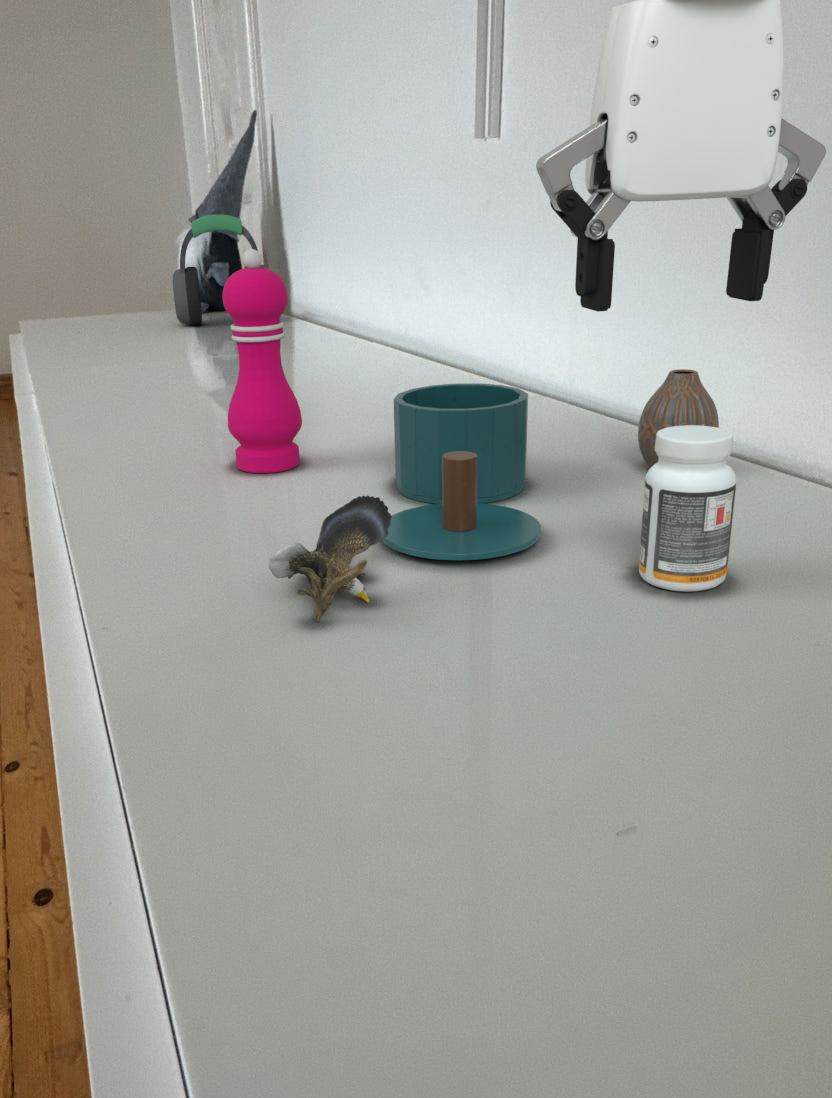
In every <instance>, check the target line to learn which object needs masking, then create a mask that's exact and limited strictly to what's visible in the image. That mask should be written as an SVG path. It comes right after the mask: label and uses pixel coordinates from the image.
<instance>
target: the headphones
mask: <svg viewBox="0 0 832 1098" xmlns="http://www.w3.org/2000/svg"><path fill="white" fill-rule="evenodd" d="M190 227H191V228H190V229H189V230H188V231H187V233H186V234H185V237H184V238H183V241H182V244H181V247H180V254H179V268H177V269H176V270H174V271H173V274H172V291H173V302H174V309H175V314H176V319H177V320H178V322H179V323H180V324H182V325H191V326H192V325H193V326H201V325H202V324H203V311H202V300H201V291H200V282H199V273H198V268H197V266H187V267H186V256H187V255H186V254H187V251H188V247H189V244H190V242H191V240H192V239H196V238H197V237H199V236H200V235H203V234H206V233H210V232H217V231H219V232H220V231H221V232H229V233H233V234H236V235H238V236H243V237H244V238H245V239H246V241H247V242H248V243H249V245H250V247H251V249H254V250H257V251H258V252H259V249H258V246H257V244H256V241H255V239H254V237H253V236H252V234H251V233H250V232H249V230H248V229H247V228H246V227H245V226H244V225H243V222H242V220H241V218H238V217H236V216H233V215H230V214H222V213H221V214H218V213H217V214H207V215H204V216H201V217H198V218H196V219H194V220H193V221H192V222H191V225H190ZM243 266H244V265H243ZM244 268H246V267H245V266H244ZM244 268H243V269H244ZM260 268H266V269H269V268H268V266H266V265H265V264H262V263H261V265H260Z"/></svg>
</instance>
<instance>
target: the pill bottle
mask: <svg viewBox="0 0 832 1098" xmlns="http://www.w3.org/2000/svg"><path fill="white" fill-rule="evenodd" d="M733 448H734V433H733V432H732V431H730V430H728V429H726V428H721V427H719V428H717V427H710V426H698V425H686V426H674V427H667V428H664V429H661V430H659V431H658V432H657V434H656V442H655V451H656V452H657V456H659V459H658V462H657V463H656V464H654V465H653V466H652V467H649V469H648V471H647V473H646V475H645V479H644V488H643V489H644V490H643V505H642V507H643V508H642V515H641V516H642V518H641V531H640V542H639V544H640V545H639V556H638V571H639V572H638V573H639V575H640V577H641V578H642V579H643V580H644V581H645V582H646V583H648V584H649V585H651V586H653V587H657V588H659V589H664V590H669V591H673V592H674V591H675V592H700V591H701V592H702V591H706V590H710V589H714V588H716V587H717V586H720V585H721V584H722V583H723V582H724V581H725V580H726V579H727V578H726V577H727V572H728V567H729V558H730V547H731V537H732V530H733V529H732V527H733V518H734V509H735V508H734V507H735V500H736V493H737V475H736V473H735V471H734V469H733V468H732V467H731V466H730V465H729V464H728V463H727V461H728V458H729V457H730V456H731V454H732V453H733Z"/></svg>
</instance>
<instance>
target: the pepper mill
mask: <svg viewBox="0 0 832 1098" xmlns="http://www.w3.org/2000/svg"><path fill="white" fill-rule="evenodd" d="M241 259H242V264H243V266H245V267H246V268H241V269H239V270H237V271H234V272H233V273H232V274H230V276H229V277H228V278H227V279H226V281H225V283H224V285H223V288H222V303H223V307H224V310H225V312H226V313H227V314H228V315H229V316H230V318H231V319H232V321H233V323H232V324H231V325H230V327H229V328H230V330H231V334H232V335H231V340H232V341H234V342H236V349H237V354H238V375H237V381H236V384H235V387H234V390H233V393H232V395H231V399H230V402H229V404H228V411H227V428H228V431H229V433H230V434H231V436H232V437H233V438H234V439H235V440H236V441H237V442H238V444H239V446H237V448H235V451H234V452H235V453H234V454H235V464H236V468H237V469H238V470H239V471H242V472H244V473H252V474H270V473H271V474H272V473H281V472H285V471H289V470H292V469H294V468H296V467H298V466H299V464H300V446H299V445H298V444H297V443H296V442H294V439H295V438H296V437H297V435H298V434H299V432H300V430H301V428H302V426H303V418H302V411H301V407H300V404H299V402H298V400H297V397H296V395H295V393H294V391H293V390H292V387H291V386H290V384H289V382H288V380H287V378H286V375H285V372H284V369H283V363H282V356H281V341H282V339H283V338H285V336H286V334H285V332H284V327H285V324H284V323H285V322H283V321H281V320H280V319H281V317H282V315H283V313H284V311H285V310H286V308H287V305H288V301H289V300H288V298H289V297H288V296H289V295H288V291H287V287H286V284H285V282H284V281H283V279H282V277H281V276H280V275H279V274H277V273H276V272H275V271H273V270H271V269H269V268H268V269H266V268H260V265H261V264H262V262H263V258H262V255H261V253H260V252H259V250H258V251H257V250H254V249H252V248H250V249H247V250H245V252H244V253H243V254H242V258H241Z"/></svg>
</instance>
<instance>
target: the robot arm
mask: <svg viewBox="0 0 832 1098" xmlns="http://www.w3.org/2000/svg"><path fill="white" fill-rule="evenodd" d="M783 28H784V27H783V13H782V4H781V0H625V3H622V4H620V5H616V6H614V7H612V8H610V10H609V14H608V19H607V22H606V27H605V30H604V35H603V40H602V45H601V51H600V55H599V60H598V65H597V70H596V71H597V72H596V77H595V84H594V89H593V96H592V102H591V110H590V119H589V126H588V127H586V128H585V129H583V130H581V131H580V132H578V133H577V134H575V135H574V136H572V137H570V138H569V139H567V140H565V141H564V142H563V143H561V144H559V145H558V146H556V147H554V148H553V149H551V150H550V151H548V152H546V153H545V154H543V155H541V157H540V158H538V159H537V161H536V165H535V168H536V172H537V174H538V176H539V179H540V181H541V183H542V186H543V188H544V190H545V193H546V195H547V196H548V198H549V200H550V201H549V204H550V207H551V209H552V210H553V211H554V213H555V214H556V215H557V216H558V217H559V218H560V219H561V220H562V222H563V223H564V224H565V225H566V227H568V228H569V231H570V234H571V235H572V236H573V237H574V238H576V239H577V240H576V241H577V243H576V260H575V261H576V263H575V264H576V265H575V281H574V282H575V283H574V285H575V286H574V287H575V294H576V295H577V296H578V297H580V306H581V308H585V309H588V310H591V311H594V312H607V311H608V310H609V309H610V308H611V307H612V298H613V281H614V266H615V254H616V253H615V252H616V251H615V250H616V243H615V241H614V239H613V238H608V236H609V235H608V234H609V231H610V229H611V228H612V227H613V225H614V224H615V222H616V221H617V220H618V218H619V217H620V216H621V215H622V214H623V213H624V210H626V208H627V207H628V206H629V204H630V203H631V202H666V201H668V202H669V201H686V200H687V201H688V200H705V199H722V198H723V199H724V198H725V199H727V200H728V202H729V204H730V205H731V206H732V208H733V210H734V211H735V213H736V214H737V216H738V218H739V220H740V221H741V222H742V223H741V228H734V231H733V232H732V236H731V243H730V252H729V261H728V270H727V277H726V278H727V280H726V287H725V294H726V296H728V297H729V298H732V299H737V300H741V301H746V302H759V301H761V300H762V299H763V294H764V288H765V287H764V285H765V284H766V283H767V281H768V279H769V273H770V265H771V260H772V259H771V258H772V251H773V250H772V249H773V243H774V234H775V230H779V229H780V228H782V226H783V225H784V223H785V221H786V217H787V216H788V214H789V213H790V212H791V211H792V210H793V209H794V208H795V207H796V206H797V205H798V204H799V203H800V202H801V201H802V200H803V198H804V197H805V196H806V195H807V192H808V185H809V183H811V182H812V180H813V178H814V177H815V175H816V173H817V171H818V170H819V167H820V166H821V164H822V162H823V161H824V159H825V157H826V154H827V149H826V146H825V145H824V144H823V143H821V142H820V141H818V140H817V139H815V138H814V137H812V136H810V135H809V134H807V133H806V132H804V131H802V130H801V129H800V128H798V127H796V126H795V125H793V124H792V123H790V122H789V121H786V120H785V119H784V118H782V114H783V98H784V97H783V96H784V76H785V75H784V74H785V73H784V72H785V71H784V70H785V64H784V63H785V58H784V56H785V55H784V52H785V51H784V29H783ZM778 153H779V154H781V155H782V156H783V157H785V158H786V160H787V166H786V168H785V170H784V171H783V172H784V174H783V176H782V178H781V179H780V180H778V181H777V182H776V183H775V184H774V185H773V186H772V187H771V188H770V186H769V185H770V183H771V182H772V179H773V177H774V174H775V170H776V165H777V159H778ZM583 161H585V173H584V174H585V175H584V176H585V178H584V180H585V188H586V191H587V192H588V194H590V195H591V196H590V197H589V198H588V199H587V201H585V200H584V198H583V197H582V196H581V195H580V194H579V192H577V191H576V190H575V188H574V185H573V181H572V178H571V171H572V170H573V168H574V167H575V166H577V165H578V164H580V163H581V162H583Z"/></svg>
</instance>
